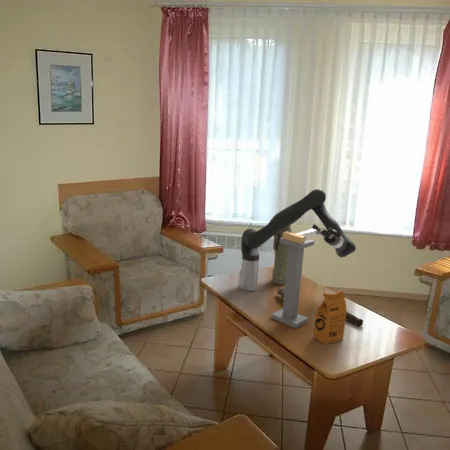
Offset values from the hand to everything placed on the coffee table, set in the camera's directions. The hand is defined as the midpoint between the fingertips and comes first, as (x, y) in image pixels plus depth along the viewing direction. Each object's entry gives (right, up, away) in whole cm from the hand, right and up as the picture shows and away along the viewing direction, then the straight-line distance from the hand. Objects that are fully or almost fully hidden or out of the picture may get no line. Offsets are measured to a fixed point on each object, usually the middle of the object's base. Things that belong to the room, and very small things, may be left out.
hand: (321, 227), depth 225 cm
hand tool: (+12, -45, +1) cm, 46 cm away
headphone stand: (-16, -44, -4) cm, 47 cm away
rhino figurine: (-16, -38, +19) cm, 45 cm away
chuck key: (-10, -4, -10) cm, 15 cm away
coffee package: (-1, -49, -19) cm, 53 cm away
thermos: (-15, -32, +43) cm, 55 cm away
